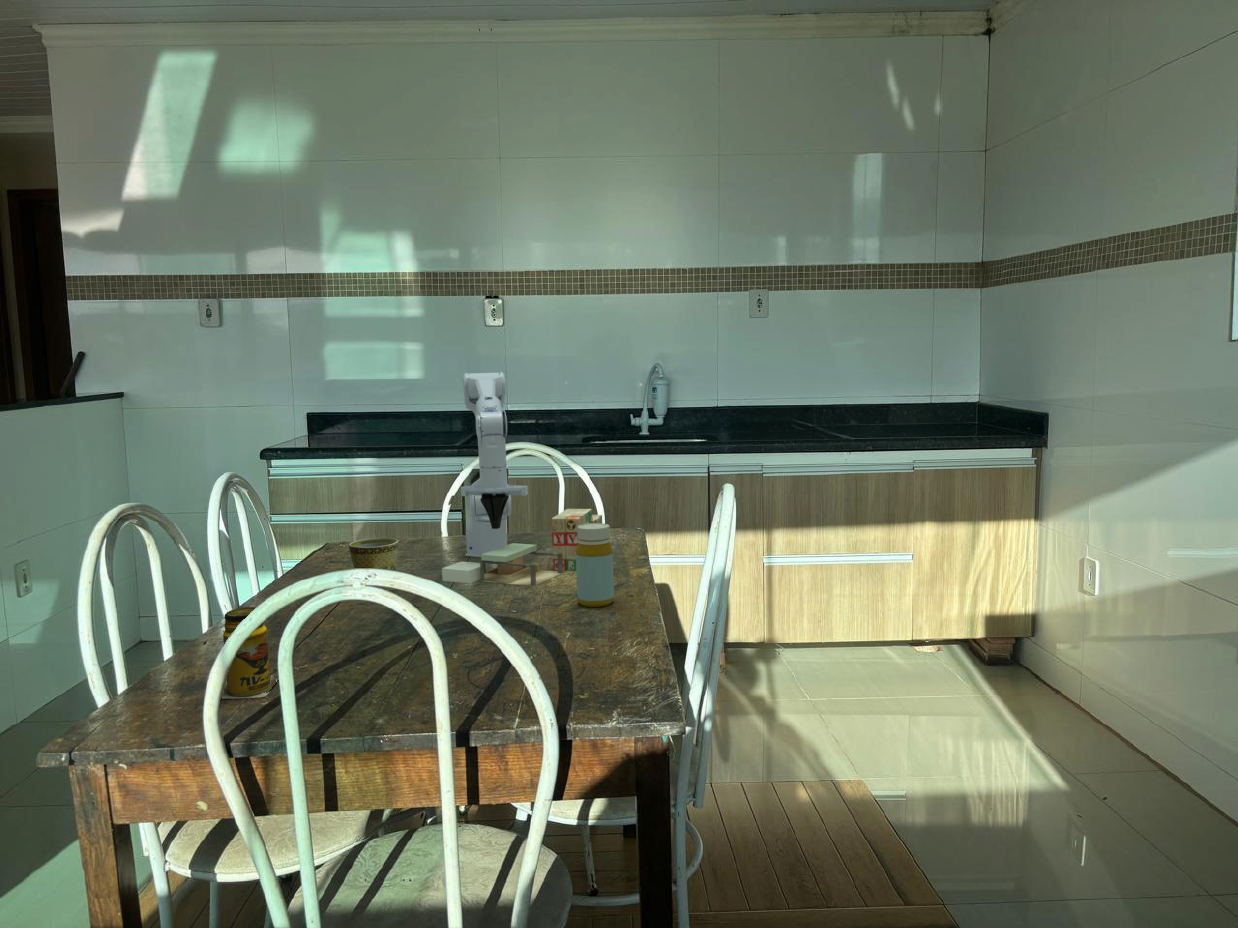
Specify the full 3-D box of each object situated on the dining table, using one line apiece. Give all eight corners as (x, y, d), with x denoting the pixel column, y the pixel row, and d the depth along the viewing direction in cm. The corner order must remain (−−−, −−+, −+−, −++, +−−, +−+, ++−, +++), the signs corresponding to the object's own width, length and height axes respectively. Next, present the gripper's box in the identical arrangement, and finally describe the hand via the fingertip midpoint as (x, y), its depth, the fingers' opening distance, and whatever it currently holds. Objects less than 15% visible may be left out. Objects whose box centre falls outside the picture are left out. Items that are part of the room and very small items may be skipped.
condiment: (266, 697, 136) (259, 616, 134) (205, 700, 135) (198, 619, 134) (280, 680, 143) (274, 603, 141) (222, 683, 142) (216, 605, 141)
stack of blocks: (579, 551, 230) (577, 502, 228) (604, 552, 228) (602, 502, 227) (553, 572, 209) (551, 517, 207) (580, 573, 207) (578, 517, 206)
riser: (442, 582, 202) (441, 568, 202) (461, 574, 208) (460, 561, 208) (469, 584, 199) (469, 570, 199) (488, 577, 205) (487, 563, 205)
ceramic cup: (407, 590, 196) (404, 542, 195) (359, 597, 191) (356, 549, 190) (387, 578, 207) (384, 533, 206) (341, 585, 202) (338, 539, 201)
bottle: (604, 596, 186) (602, 521, 185) (620, 604, 180) (617, 526, 178) (572, 601, 183) (569, 525, 182) (586, 609, 177) (583, 530, 175)
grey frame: (479, 582, 201) (478, 561, 201) (512, 568, 213) (511, 548, 212) (533, 587, 195) (532, 565, 195) (564, 573, 207) (563, 552, 206)
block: (497, 576, 204) (497, 558, 204) (507, 572, 208) (507, 554, 207) (513, 578, 203) (512, 559, 202) (523, 573, 206) (522, 556, 206)
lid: (481, 560, 200) (481, 554, 200) (513, 548, 212) (512, 543, 212) (506, 562, 198) (505, 556, 198) (536, 550, 209) (536, 544, 209)
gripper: (455, 469, 202) (458, 531, 204) (520, 468, 200) (523, 531, 202) (465, 465, 209) (468, 525, 211) (529, 464, 207) (531, 525, 209)
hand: (496, 528), depth 207 cm, fingers closed
